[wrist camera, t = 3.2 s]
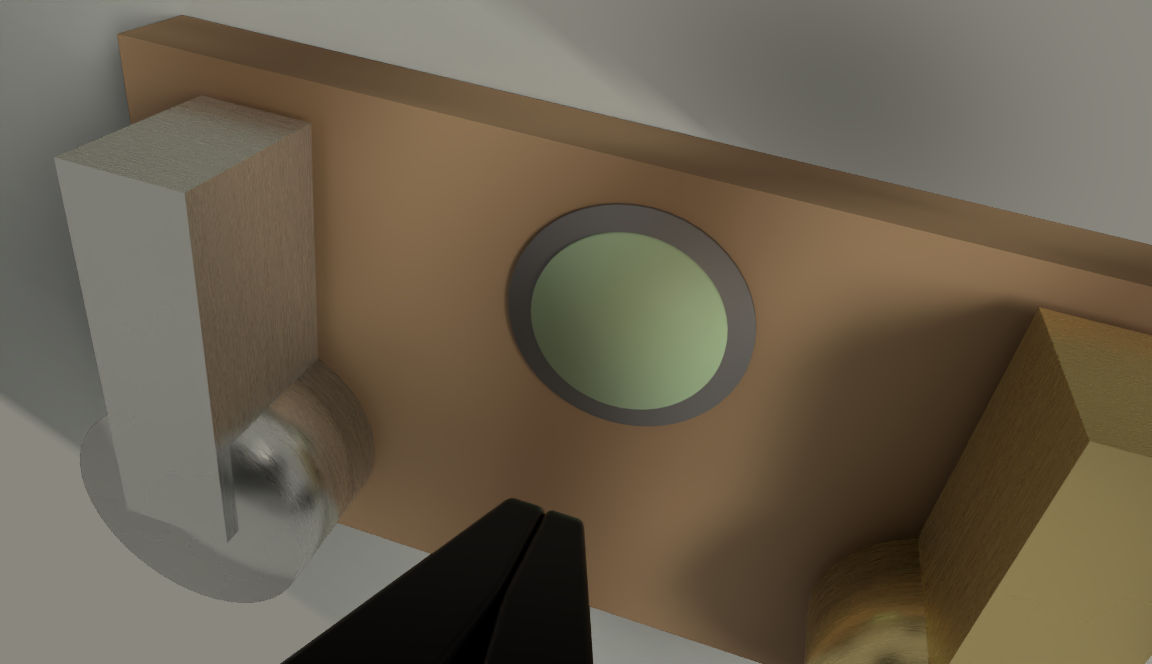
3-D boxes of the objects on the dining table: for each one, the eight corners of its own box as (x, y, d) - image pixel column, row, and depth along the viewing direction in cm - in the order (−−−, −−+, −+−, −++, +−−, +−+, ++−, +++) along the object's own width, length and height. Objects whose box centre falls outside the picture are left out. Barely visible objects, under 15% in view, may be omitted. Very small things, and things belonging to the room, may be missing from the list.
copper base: (1293, 278, 11) (1354, 343, 10) (1009, 679, 16) (1024, 760, 15) (182, 15, 14) (107, 36, 13) (227, 428, 19) (177, 477, 17)
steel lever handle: (374, 529, 16) (295, 645, 14) (193, 470, 17) (89, 571, 15) (380, 140, 12) (268, 216, 10) (136, 79, 13) (-23, 136, 10)
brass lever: (1008, 740, 15) (1037, 911, 12) (779, 664, 15) (766, 814, 13) (1287, 369, 10) (1412, 530, 8) (950, 284, 11) (975, 410, 9)
